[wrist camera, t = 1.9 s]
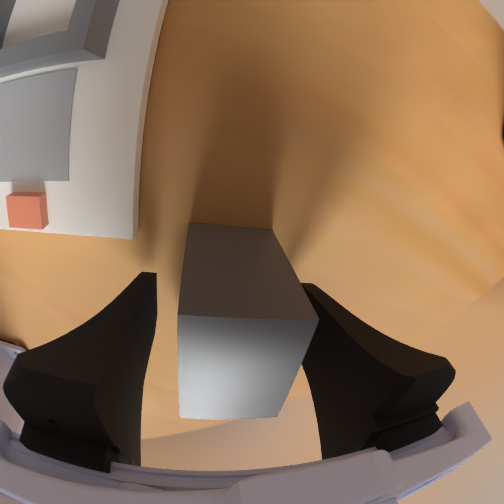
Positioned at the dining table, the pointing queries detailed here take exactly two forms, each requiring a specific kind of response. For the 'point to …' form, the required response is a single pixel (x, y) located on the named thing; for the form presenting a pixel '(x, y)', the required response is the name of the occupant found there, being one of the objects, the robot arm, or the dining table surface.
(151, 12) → the white flat rectangular base
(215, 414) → the gray block
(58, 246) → the dining table surface
